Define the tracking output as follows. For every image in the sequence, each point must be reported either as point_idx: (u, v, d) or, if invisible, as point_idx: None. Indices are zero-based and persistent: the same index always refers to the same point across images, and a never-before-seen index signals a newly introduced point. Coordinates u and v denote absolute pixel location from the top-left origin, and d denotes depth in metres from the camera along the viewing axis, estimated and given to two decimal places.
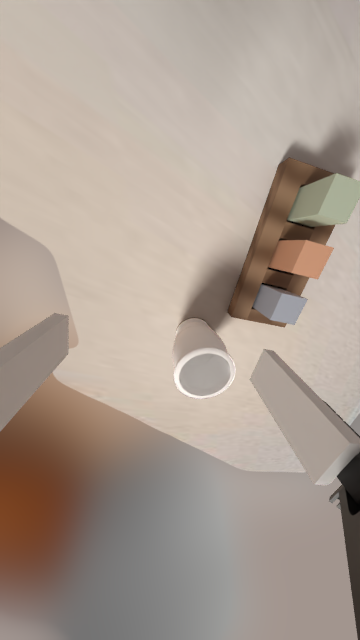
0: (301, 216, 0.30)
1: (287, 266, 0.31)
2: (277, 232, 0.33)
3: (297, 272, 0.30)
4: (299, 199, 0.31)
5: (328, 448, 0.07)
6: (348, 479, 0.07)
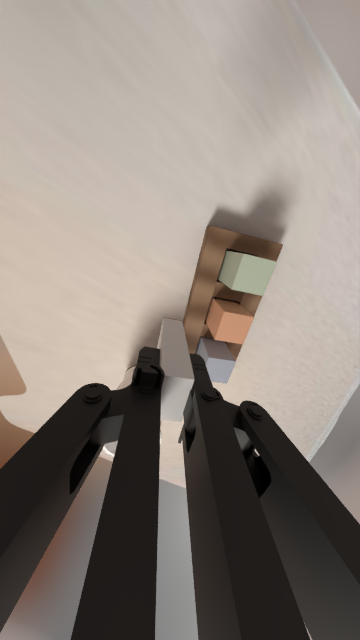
0: (224, 283, 0.29)
1: (213, 330, 0.31)
2: (209, 291, 0.33)
3: (220, 339, 0.30)
4: (225, 263, 0.31)
5: None
6: (184, 420, 0.08)
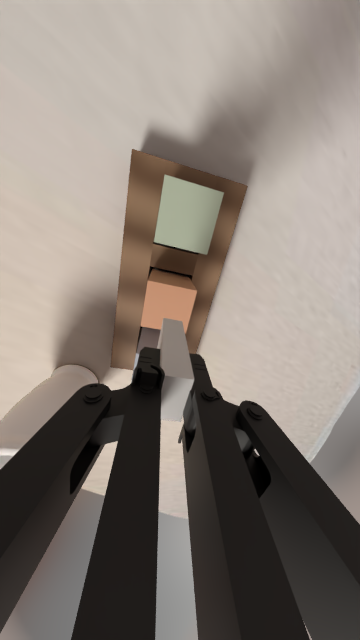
0: None
1: None
2: (144, 259, 0.23)
3: (149, 325, 0.19)
4: None
5: None
6: (184, 420, 0.08)
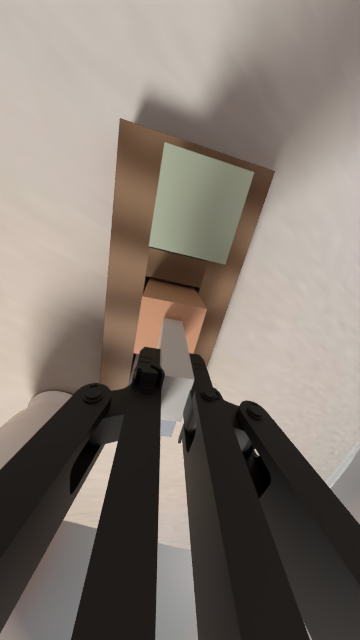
0: None
1: None
2: (138, 267, 0.18)
3: None
4: None
5: None
6: (184, 420, 0.08)
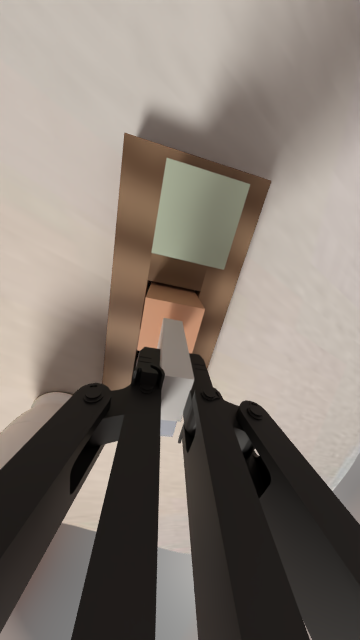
0: None
1: None
2: (140, 271, 0.19)
3: None
4: None
5: None
6: (184, 420, 0.08)
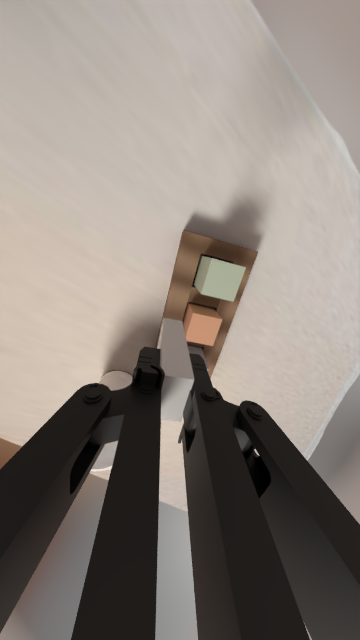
0: (197, 288, 0.29)
1: (185, 332, 0.32)
2: (184, 296, 0.33)
3: (190, 340, 0.30)
4: (199, 268, 0.30)
5: None
6: (184, 420, 0.08)
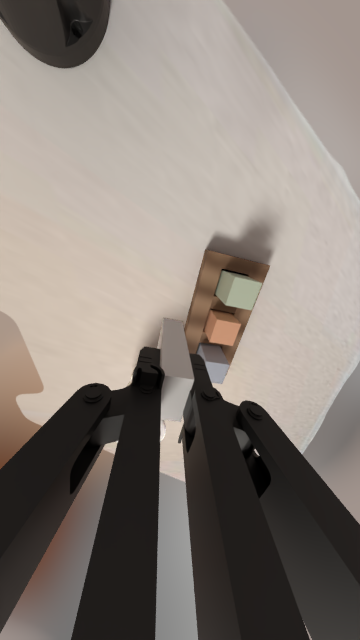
0: (220, 298, 0.35)
1: (208, 334, 0.38)
2: (207, 304, 0.39)
3: (214, 341, 0.36)
4: (221, 281, 0.36)
5: None
6: (184, 420, 0.08)
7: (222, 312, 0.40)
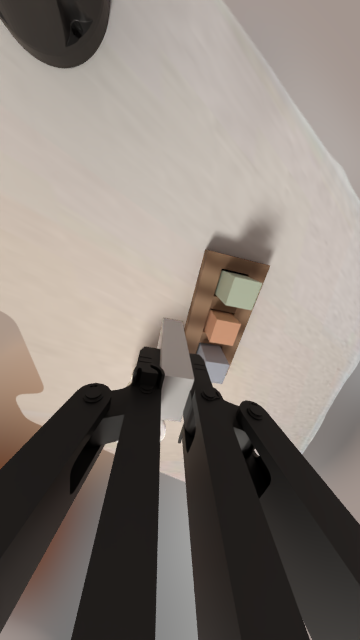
0: (220, 298, 0.35)
1: (208, 334, 0.38)
2: (207, 304, 0.39)
3: (214, 341, 0.36)
4: (221, 281, 0.36)
5: None
6: (184, 420, 0.08)
7: (222, 312, 0.40)
